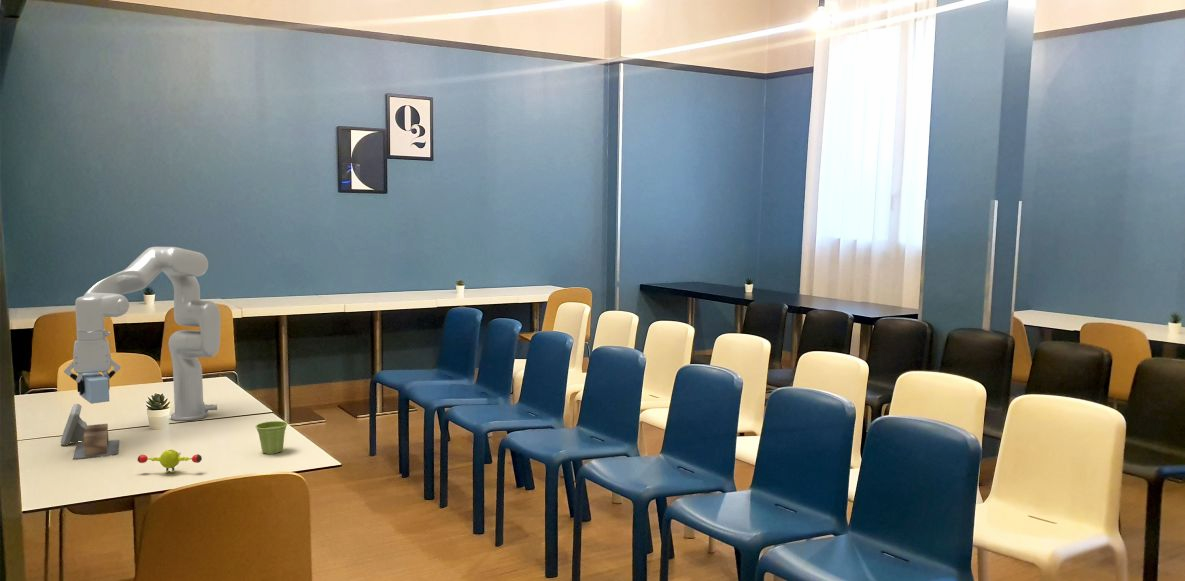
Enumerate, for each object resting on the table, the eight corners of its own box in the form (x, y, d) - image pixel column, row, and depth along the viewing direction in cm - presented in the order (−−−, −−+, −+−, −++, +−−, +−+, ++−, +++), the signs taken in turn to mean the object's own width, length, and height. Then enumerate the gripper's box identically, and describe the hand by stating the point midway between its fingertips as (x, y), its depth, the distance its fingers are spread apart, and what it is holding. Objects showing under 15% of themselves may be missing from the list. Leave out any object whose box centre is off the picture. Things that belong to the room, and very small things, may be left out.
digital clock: (65, 434, 296) (63, 403, 295) (95, 432, 299) (93, 401, 298) (50, 447, 281) (48, 414, 280) (82, 445, 283) (80, 412, 282)
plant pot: (254, 457, 271) (253, 429, 270) (257, 448, 280) (256, 421, 279) (287, 454, 274) (286, 427, 273) (289, 446, 283) (288, 420, 282)
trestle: (119, 440, 289) (118, 421, 288) (117, 454, 273) (116, 434, 272) (76, 445, 283) (75, 425, 283) (72, 459, 267) (71, 439, 267)
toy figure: (206, 469, 258) (205, 447, 258) (198, 475, 253) (197, 452, 252) (143, 470, 258) (142, 447, 257) (134, 475, 252) (133, 452, 251)
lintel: (96, 392, 284) (95, 371, 283) (109, 401, 272) (108, 378, 271) (79, 394, 281) (78, 373, 280) (91, 403, 269) (90, 381, 268)
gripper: (122, 332, 282) (125, 388, 283) (59, 336, 274) (62, 393, 276) (122, 335, 275) (124, 393, 277) (57, 339, 267) (60, 398, 269)
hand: (93, 392), depth 276 cm, fingers closed on lintel, 5 cm apart
